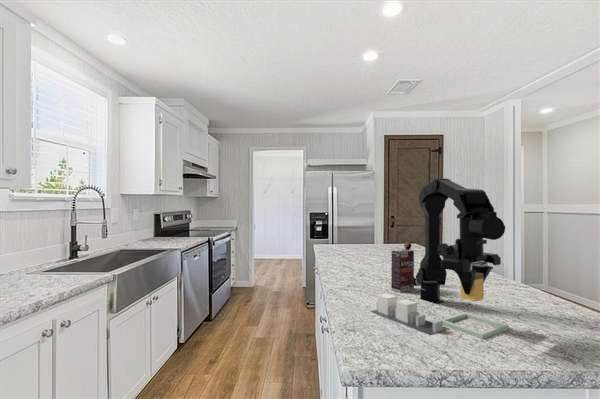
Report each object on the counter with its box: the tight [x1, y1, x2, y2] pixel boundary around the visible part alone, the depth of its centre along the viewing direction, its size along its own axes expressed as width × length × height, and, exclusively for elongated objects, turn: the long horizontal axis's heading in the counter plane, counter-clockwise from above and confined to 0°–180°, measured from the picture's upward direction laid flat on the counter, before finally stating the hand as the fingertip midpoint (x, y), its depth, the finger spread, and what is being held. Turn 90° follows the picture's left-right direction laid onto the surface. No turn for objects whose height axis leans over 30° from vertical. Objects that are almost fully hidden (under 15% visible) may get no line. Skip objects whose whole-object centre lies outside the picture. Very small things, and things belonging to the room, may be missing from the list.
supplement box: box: [390, 248, 415, 293], centre depth 134 cm, size 9×5×16 cm, turn 123°
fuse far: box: [377, 293, 398, 315], centre depth 102 cm, size 4×4×5 cm
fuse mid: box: [396, 298, 418, 323], centre depth 96 cm, size 4×4×5 cm
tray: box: [438, 311, 510, 340], centre depth 90 cm, size 12×12×2 cm
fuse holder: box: [370, 301, 450, 336], centre depth 95 cm, size 8×22×4 cm, turn 31°
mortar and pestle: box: [403, 241, 417, 286], centre depth 144 cm, size 7×6×18 cm
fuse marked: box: [460, 272, 485, 302], centre depth 90 cm, size 4×4×7 cm
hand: (471, 292), depth 90 cm, fingers closed on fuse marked, 4 cm apart
